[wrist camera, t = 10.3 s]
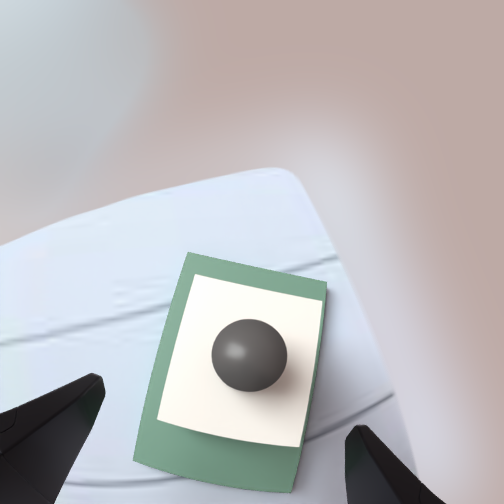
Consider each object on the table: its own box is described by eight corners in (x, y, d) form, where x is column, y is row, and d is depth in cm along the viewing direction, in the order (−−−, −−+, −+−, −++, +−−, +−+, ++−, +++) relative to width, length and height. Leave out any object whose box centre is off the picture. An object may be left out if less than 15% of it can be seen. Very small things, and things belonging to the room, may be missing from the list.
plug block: (256, 413, 17) (319, 462, 5) (196, 400, 17) (137, 427, 5) (269, 349, 20) (344, 278, 7) (211, 337, 20) (188, 244, 7)
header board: (287, 488, 15) (301, 507, 11) (137, 457, 15) (118, 470, 11) (322, 286, 24) (340, 265, 20) (189, 258, 24) (183, 231, 20)
